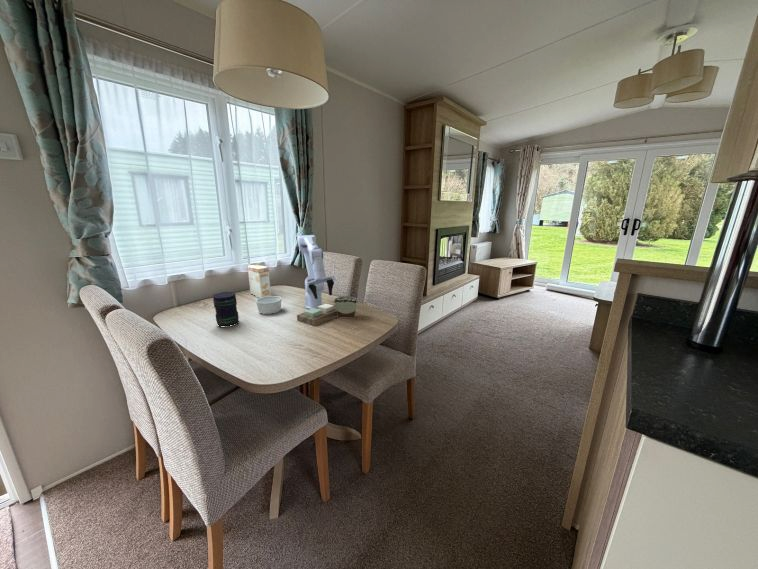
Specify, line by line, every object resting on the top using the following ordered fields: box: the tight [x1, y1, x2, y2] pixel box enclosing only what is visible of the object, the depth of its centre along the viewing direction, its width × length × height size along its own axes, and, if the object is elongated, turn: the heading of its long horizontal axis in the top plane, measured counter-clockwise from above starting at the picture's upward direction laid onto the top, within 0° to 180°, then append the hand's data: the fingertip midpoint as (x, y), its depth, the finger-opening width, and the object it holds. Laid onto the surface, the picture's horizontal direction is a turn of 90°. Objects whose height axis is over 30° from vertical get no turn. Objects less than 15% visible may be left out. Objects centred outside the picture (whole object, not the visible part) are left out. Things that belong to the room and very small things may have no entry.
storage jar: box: [212, 291, 240, 326], centre depth 142 cm, size 10×10×15 cm
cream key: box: [318, 303, 335, 312], centre depth 155 cm, size 6×6×2 cm
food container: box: [333, 295, 358, 319], centre depth 153 cm, size 12×6×10 cm, turn 84°
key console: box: [296, 306, 337, 327], centre depth 152 cm, size 12×20×3 cm, turn 145°
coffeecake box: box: [247, 264, 272, 299], centre depth 188 cm, size 15×7×20 cm, turn 48°
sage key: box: [304, 308, 322, 318], centre depth 148 cm, size 6×6×2 cm
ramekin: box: [255, 295, 283, 315], centre depth 161 cm, size 13×13×7 cm
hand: (323, 296), depth 146 cm, fingers open, 7 cm apart
